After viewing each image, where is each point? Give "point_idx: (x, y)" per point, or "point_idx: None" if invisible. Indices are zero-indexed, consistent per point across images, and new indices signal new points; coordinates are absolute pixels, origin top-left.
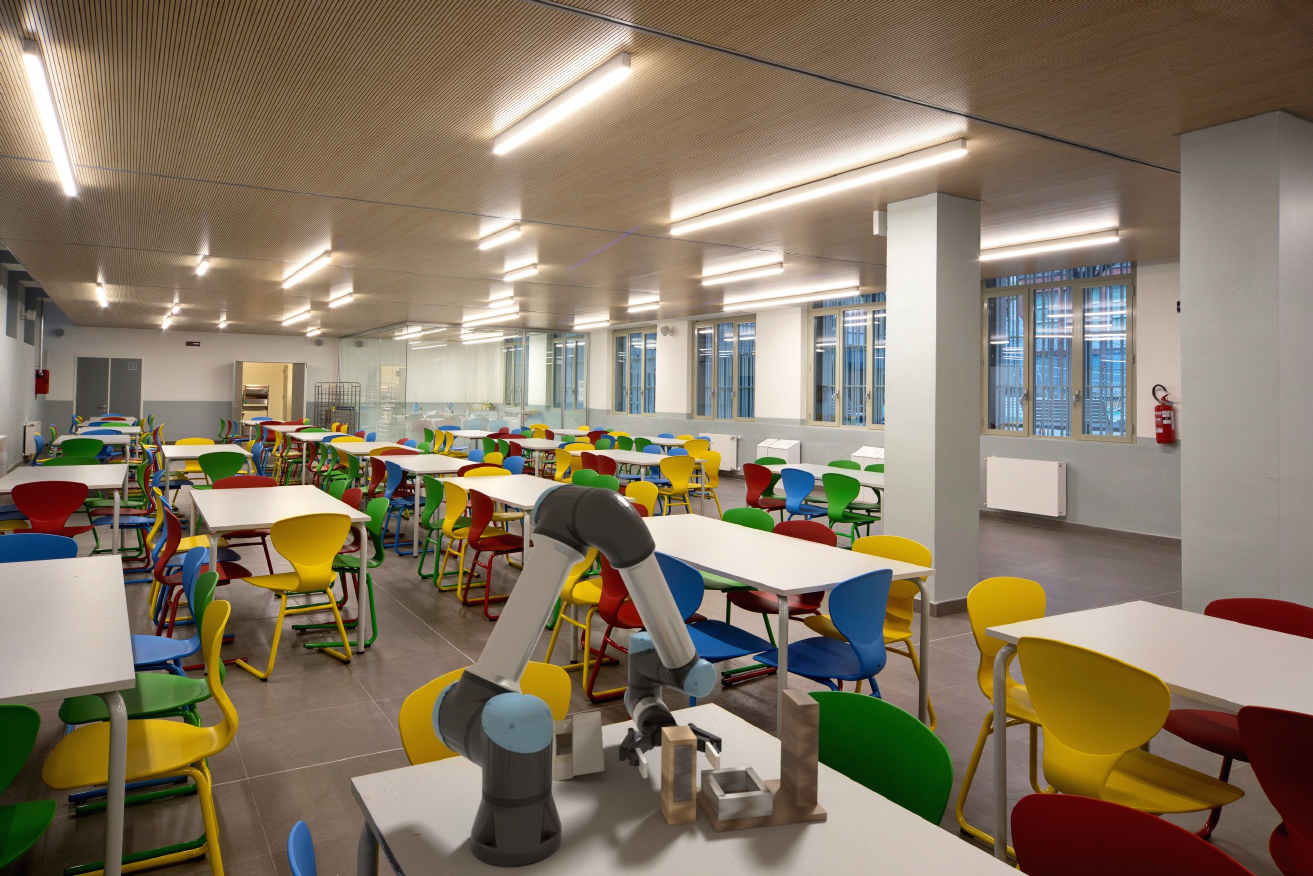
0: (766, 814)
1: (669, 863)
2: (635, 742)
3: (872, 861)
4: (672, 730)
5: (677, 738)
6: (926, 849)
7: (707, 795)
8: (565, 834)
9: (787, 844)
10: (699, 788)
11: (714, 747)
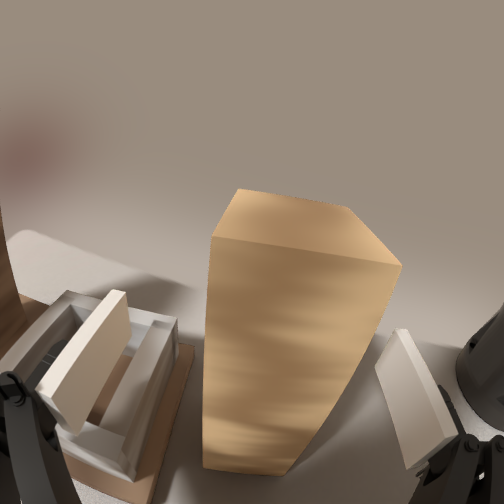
0: None
1: None
2: (467, 498)
3: (73, 251)
4: (335, 233)
5: (316, 204)
6: (25, 245)
7: (150, 418)
8: (459, 400)
9: None
10: (131, 491)
11: (43, 372)
